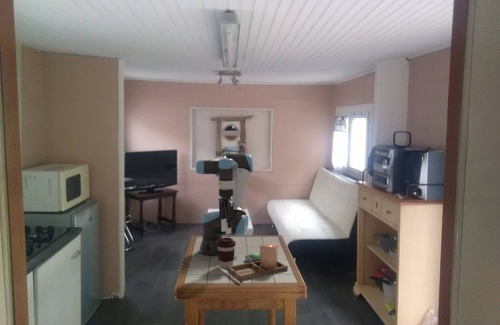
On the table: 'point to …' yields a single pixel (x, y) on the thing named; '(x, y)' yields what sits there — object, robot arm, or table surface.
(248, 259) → the grey square frame
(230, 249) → the coffee cup
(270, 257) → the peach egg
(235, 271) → the divided tray
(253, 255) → the button
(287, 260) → the table surface
